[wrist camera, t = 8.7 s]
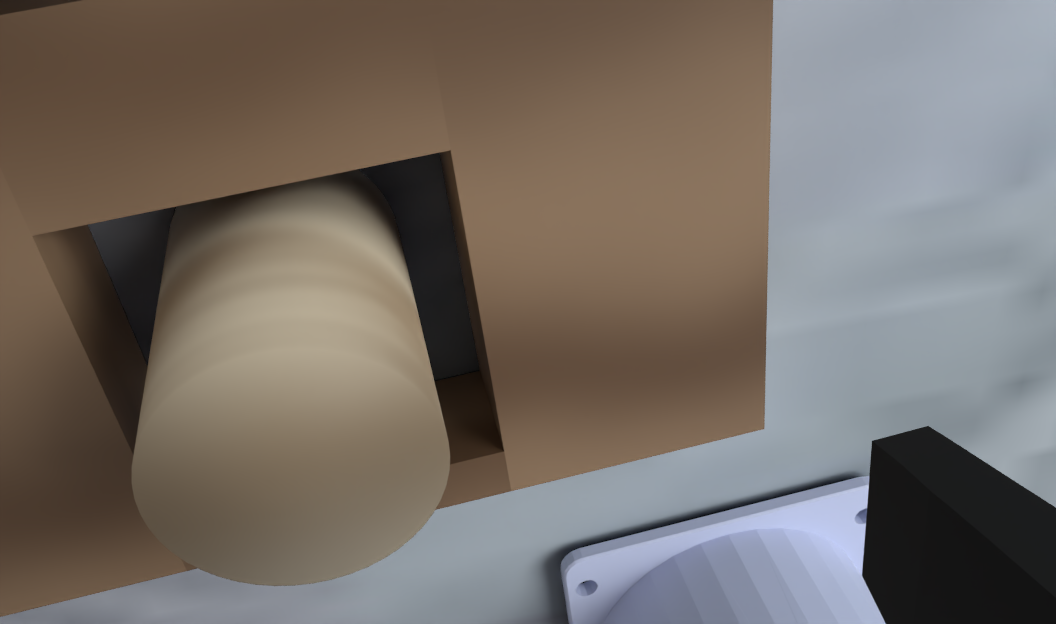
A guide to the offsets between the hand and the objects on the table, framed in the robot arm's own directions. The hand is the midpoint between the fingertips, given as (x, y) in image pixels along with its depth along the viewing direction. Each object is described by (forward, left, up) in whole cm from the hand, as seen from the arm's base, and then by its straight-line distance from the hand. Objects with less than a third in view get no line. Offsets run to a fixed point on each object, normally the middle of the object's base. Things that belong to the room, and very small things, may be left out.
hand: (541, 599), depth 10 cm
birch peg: (-1, +3, -9) cm, 10 cm away
